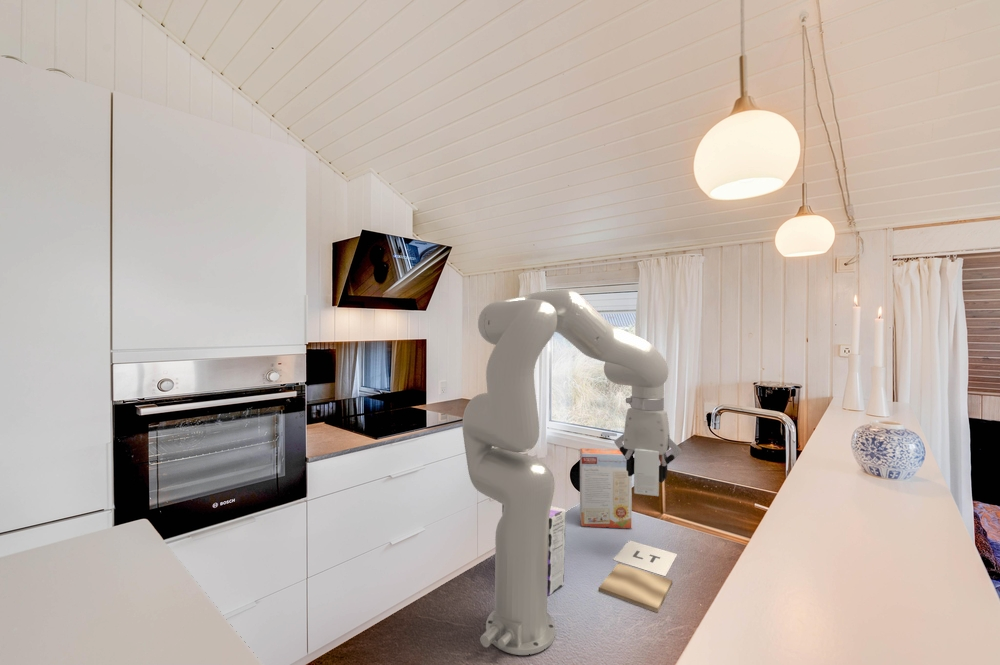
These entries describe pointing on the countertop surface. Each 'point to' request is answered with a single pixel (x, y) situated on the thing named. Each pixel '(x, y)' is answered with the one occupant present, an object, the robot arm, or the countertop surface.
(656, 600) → the coaster
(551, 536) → the candy box
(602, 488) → the cracker box
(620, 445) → the robot arm
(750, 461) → the countertop surface
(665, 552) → the card
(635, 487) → the small box
